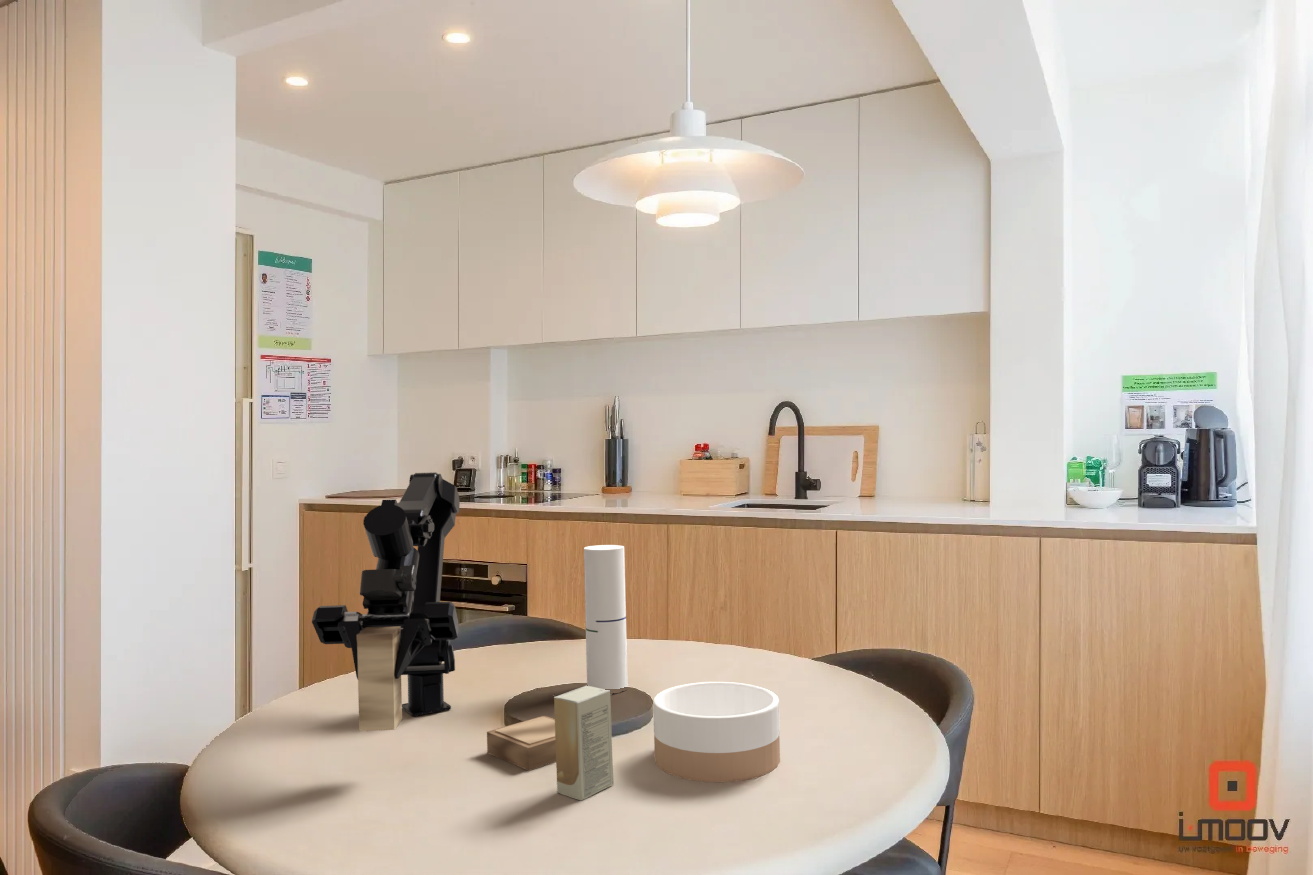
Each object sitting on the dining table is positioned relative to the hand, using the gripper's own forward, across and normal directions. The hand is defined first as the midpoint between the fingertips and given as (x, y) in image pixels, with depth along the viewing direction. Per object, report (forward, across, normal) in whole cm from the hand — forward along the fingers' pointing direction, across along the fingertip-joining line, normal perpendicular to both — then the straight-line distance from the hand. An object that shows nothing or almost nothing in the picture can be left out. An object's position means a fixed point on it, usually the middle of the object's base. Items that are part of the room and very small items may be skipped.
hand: (377, 677), depth 117 cm
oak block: (+4, 0, +6) cm, 7 cm away
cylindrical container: (-18, +30, +37) cm, 51 cm away
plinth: (+4, +20, +15) cm, 25 cm away
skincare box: (+14, +27, +5) cm, 31 cm away
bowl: (+8, +45, +12) cm, 47 cm away
